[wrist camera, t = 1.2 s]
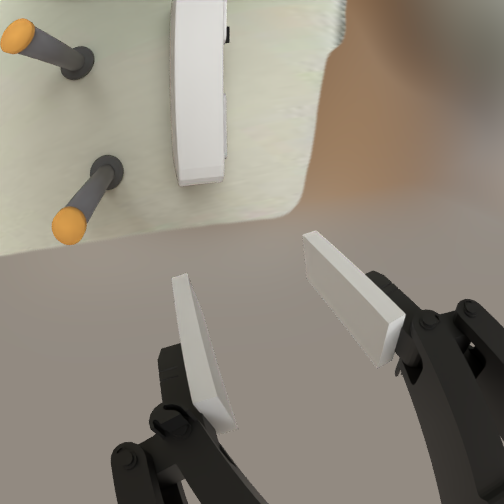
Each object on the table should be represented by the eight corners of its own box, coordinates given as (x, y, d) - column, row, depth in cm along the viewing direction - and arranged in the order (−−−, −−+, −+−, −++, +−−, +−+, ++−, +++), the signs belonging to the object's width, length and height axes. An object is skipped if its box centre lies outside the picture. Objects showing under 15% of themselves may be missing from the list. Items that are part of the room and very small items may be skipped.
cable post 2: (87, 162, 41) (32, 212, 21) (117, 150, 42) (81, 189, 22) (97, 193, 44) (57, 263, 24) (127, 181, 45) (104, 244, 25)
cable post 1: (60, 56, 30) (-10, 28, 10) (91, 42, 31) (39, -3, 11) (65, 85, 33) (-6, 75, 13) (97, 71, 34) (43, 44, 14)
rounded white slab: (216, 158, 48) (244, 185, 33) (173, 163, 46) (180, 192, 31) (215, 8, 34) (245, -34, 19) (170, 9, 32) (178, -36, 17)
